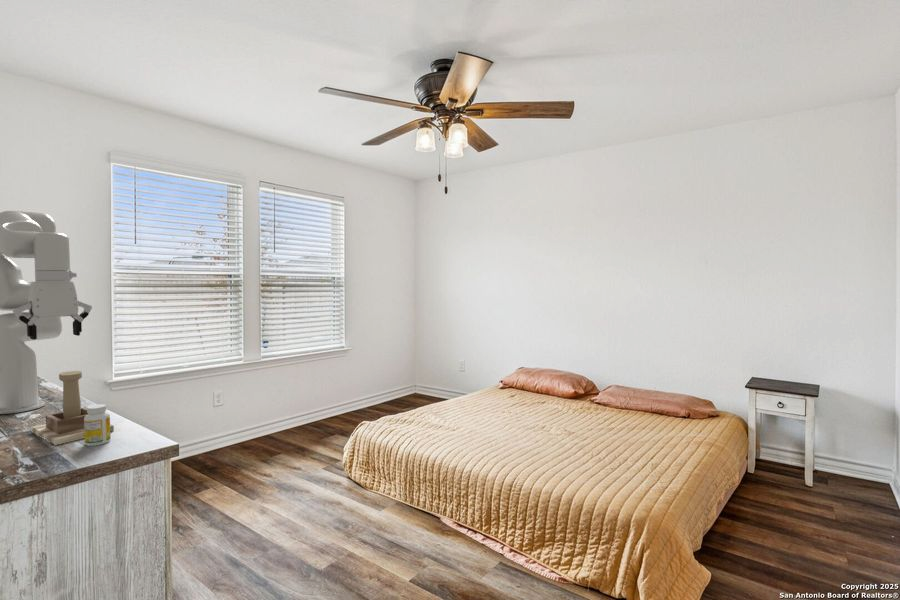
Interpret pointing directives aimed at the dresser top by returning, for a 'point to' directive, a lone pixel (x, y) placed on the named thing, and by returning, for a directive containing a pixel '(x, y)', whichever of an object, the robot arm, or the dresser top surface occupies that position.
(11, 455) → the dresser top surface
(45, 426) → the wooden base with box
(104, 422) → the supplement bottle
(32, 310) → the robot arm
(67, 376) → the handle
